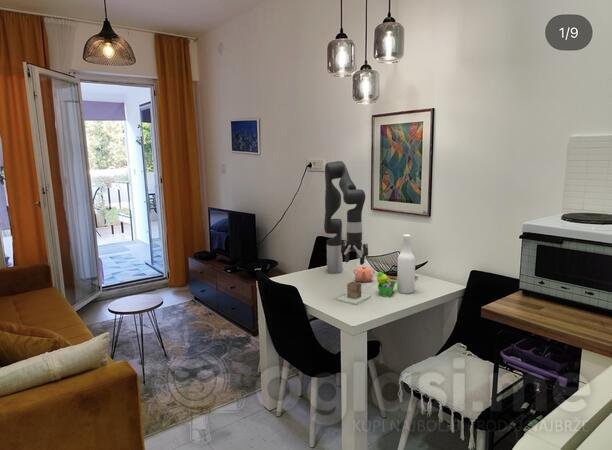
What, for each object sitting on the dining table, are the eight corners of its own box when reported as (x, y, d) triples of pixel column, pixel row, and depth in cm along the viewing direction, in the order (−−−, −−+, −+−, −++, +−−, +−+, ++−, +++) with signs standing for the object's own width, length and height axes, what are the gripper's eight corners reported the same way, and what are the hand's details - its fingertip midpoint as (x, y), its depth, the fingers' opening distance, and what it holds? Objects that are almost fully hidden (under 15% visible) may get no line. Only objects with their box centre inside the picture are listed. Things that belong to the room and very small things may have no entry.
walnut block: (352, 294, 207) (352, 281, 206) (361, 296, 204) (361, 283, 203) (347, 297, 203) (347, 283, 202) (355, 299, 200) (355, 285, 199)
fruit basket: (392, 297, 205) (392, 275, 203) (374, 296, 208) (374, 274, 206) (395, 290, 215) (395, 270, 214) (378, 289, 219) (379, 268, 217)
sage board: (352, 293, 213) (352, 291, 213) (371, 297, 206) (371, 295, 206) (337, 300, 202) (337, 298, 202) (356, 305, 195) (356, 303, 195)
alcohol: (395, 293, 212) (396, 235, 207) (398, 288, 220) (399, 233, 215) (413, 294, 208) (414, 236, 204) (415, 289, 217) (416, 233, 212)
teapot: (374, 277, 241) (374, 263, 240) (374, 284, 227) (374, 270, 225) (353, 276, 243) (353, 263, 242) (352, 284, 228) (352, 269, 227)
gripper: (371, 231, 197) (370, 263, 199) (346, 228, 206) (346, 259, 208) (362, 233, 191) (362, 267, 194) (337, 230, 200) (338, 262, 203)
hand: (354, 263), depth 201 cm, fingers open, 8 cm apart
